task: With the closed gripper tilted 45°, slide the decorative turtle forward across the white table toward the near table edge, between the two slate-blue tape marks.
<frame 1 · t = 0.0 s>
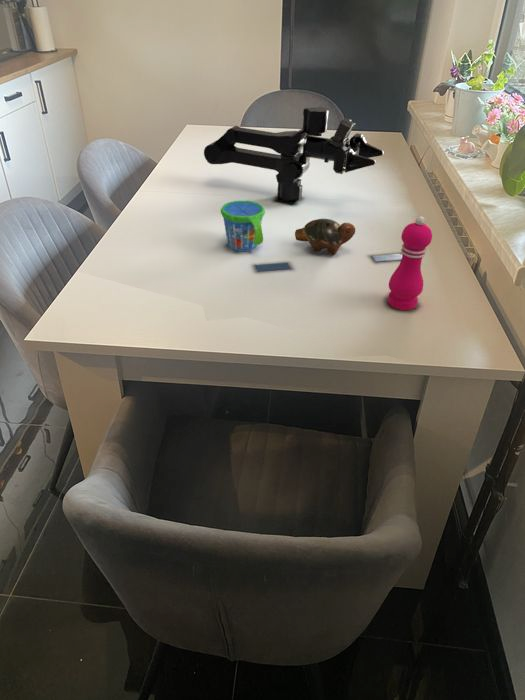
hand: (379, 157, 147), 17 cm above the table, tool horizontal, fingers open, 9 cm apart
decorative turtle: (322, 249, 139), on the table
snack cup: (242, 246, 139), on the table
pepper mill: (401, 303, 119), on the table
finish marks: (332, 262, 133), on the table
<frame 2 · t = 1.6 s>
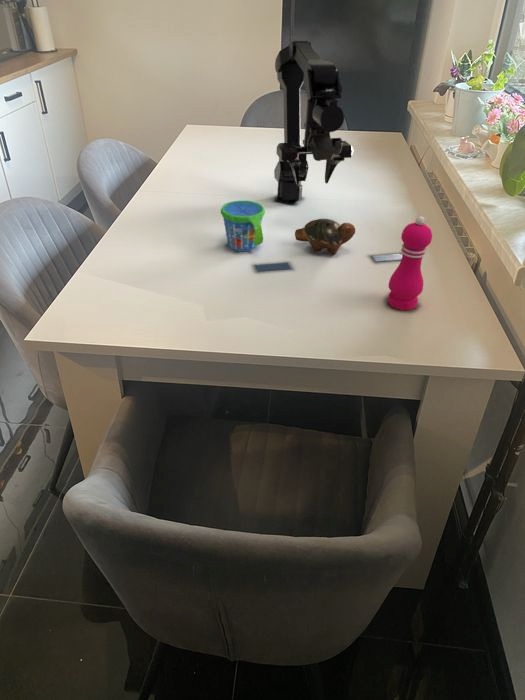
hand: (311, 183, 142), 12 cm above the table, tool pointing down, fingers open, 8 cm apart
nothing on the table moved.
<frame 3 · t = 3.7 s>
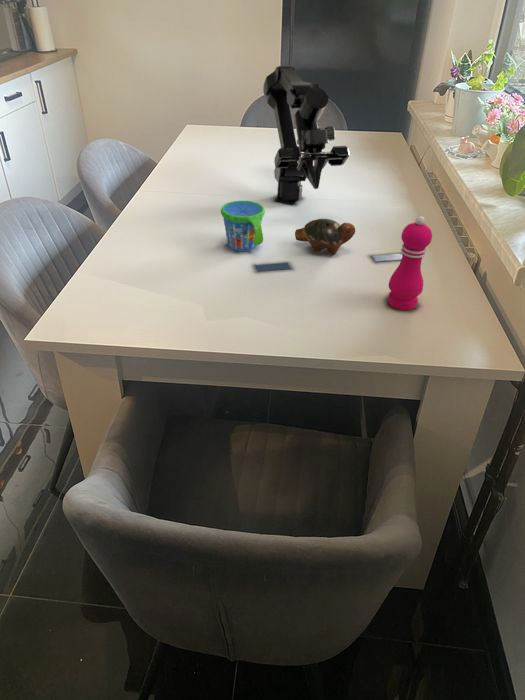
hand: (316, 188, 138), 13 cm above the table, tool tilted 45°, fingers closed
nothing on the table moved.
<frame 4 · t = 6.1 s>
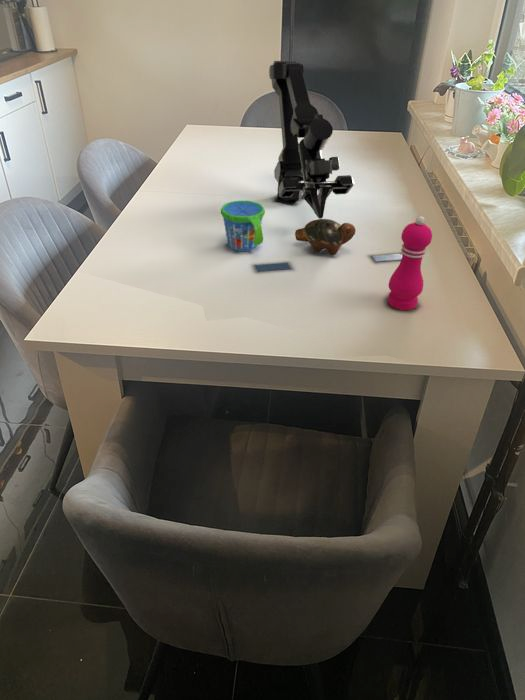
hand: (320, 218, 138), 7 cm above the table, tool tilted 45°, fingers closed, pressing on decorative turtle
decorative turtle: (322, 249, 139), on the table, touching gripper
everything else where it was.
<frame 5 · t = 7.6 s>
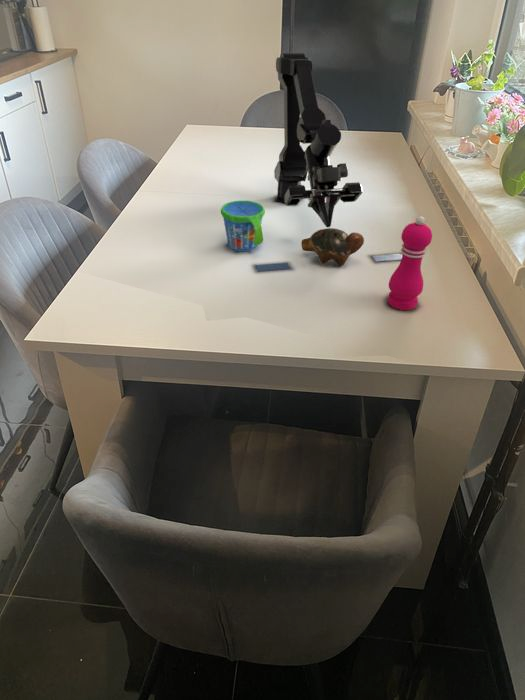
hand: (328, 226, 133), 7 cm above the table, tool tilted 45°, fingers closed, pressing on decorative turtle
decorative turtle: (330, 260, 135), on the table, touching gripper
everything else where it was.
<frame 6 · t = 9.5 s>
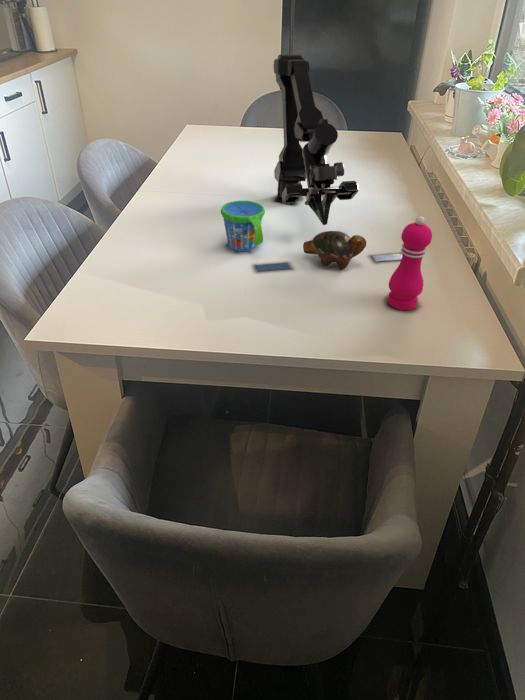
hand: (325, 224, 135), 7 cm above the table, tool tilted 45°, fingers closed
decorative turtle: (332, 262, 133), on the table
everything else where it was.
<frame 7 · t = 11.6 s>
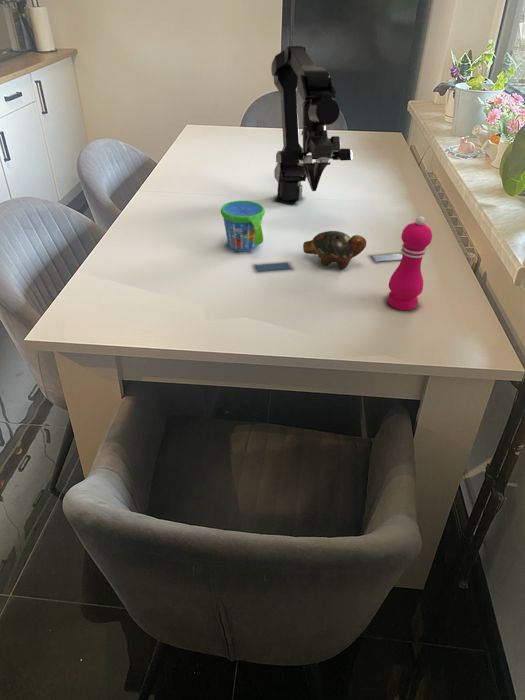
hand: (313, 191, 141), 11 cm above the table, tool tilted 15°, fingers closed
nothing on the table moved.
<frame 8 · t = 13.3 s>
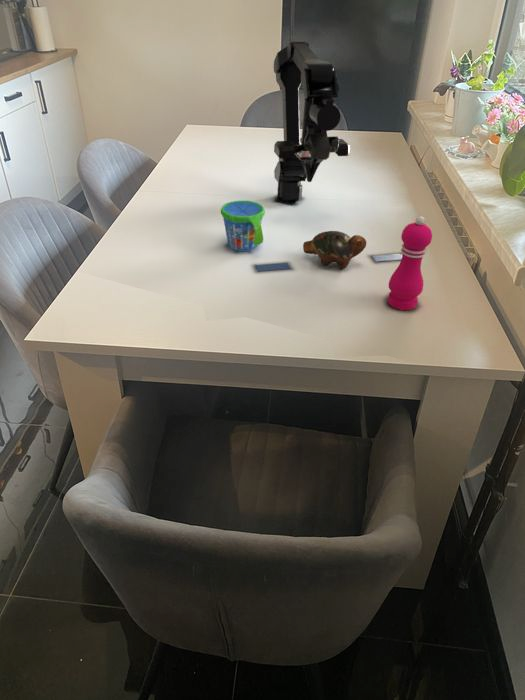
hand: (309, 181, 144), 12 cm above the table, tool pointing down, fingers closed
nothing on the table moved.
at the end: decorative turtle moved 7.2 cm from its start; decorative turtle inside the target area (1.7 cm from its centre), on the table; decorative turtle tilted 0° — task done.
